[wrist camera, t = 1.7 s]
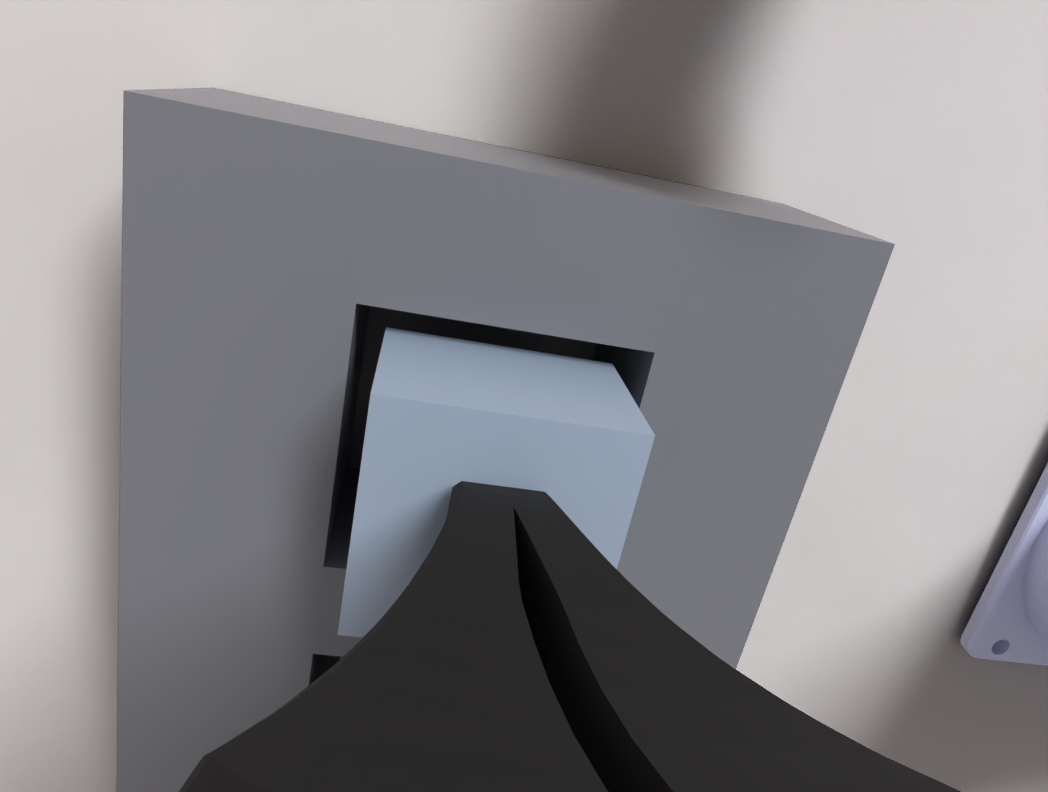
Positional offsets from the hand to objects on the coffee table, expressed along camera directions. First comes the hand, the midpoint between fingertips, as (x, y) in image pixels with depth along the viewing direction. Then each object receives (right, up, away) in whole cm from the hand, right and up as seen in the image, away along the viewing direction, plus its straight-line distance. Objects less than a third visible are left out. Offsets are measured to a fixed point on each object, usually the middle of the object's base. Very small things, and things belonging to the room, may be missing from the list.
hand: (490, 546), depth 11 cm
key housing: (-2, -4, +9) cm, 10 cm away
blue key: (0, +1, +3) cm, 3 cm away
